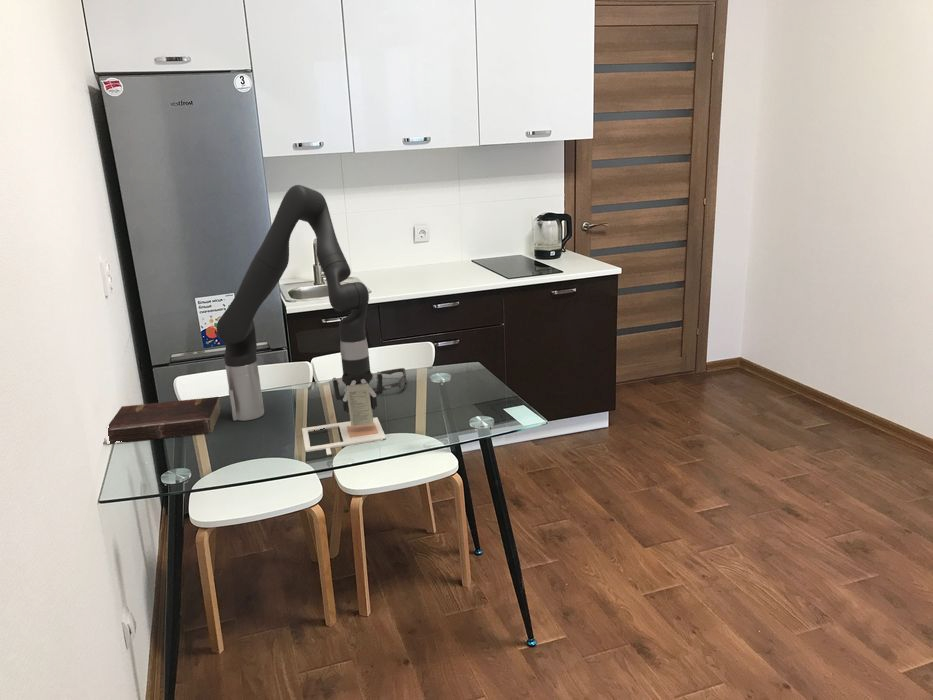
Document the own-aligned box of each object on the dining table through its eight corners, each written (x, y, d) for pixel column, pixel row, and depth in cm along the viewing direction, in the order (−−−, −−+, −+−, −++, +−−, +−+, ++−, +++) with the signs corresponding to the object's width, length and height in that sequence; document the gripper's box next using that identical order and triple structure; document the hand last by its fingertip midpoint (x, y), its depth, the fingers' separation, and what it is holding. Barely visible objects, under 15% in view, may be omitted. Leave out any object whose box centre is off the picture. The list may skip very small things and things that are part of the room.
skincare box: (373, 419, 214) (369, 378, 210) (372, 424, 209) (368, 384, 206) (350, 420, 213) (346, 380, 209) (349, 426, 209) (345, 385, 205)
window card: (306, 458, 197) (306, 455, 197) (302, 429, 215) (301, 427, 215) (388, 445, 202) (388, 442, 202) (377, 418, 221) (377, 416, 220)
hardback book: (106, 446, 213) (103, 430, 211) (124, 421, 230) (121, 406, 229) (211, 435, 217) (208, 419, 215) (221, 411, 234) (218, 396, 233)
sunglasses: (405, 395, 239) (402, 381, 237) (354, 403, 240) (350, 389, 238) (409, 378, 254) (407, 364, 253) (362, 385, 256) (359, 372, 254)
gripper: (330, 362, 200) (336, 419, 205) (382, 355, 203) (388, 411, 208) (327, 354, 207) (333, 409, 212) (378, 347, 210) (383, 402, 215)
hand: (360, 410), depth 210 cm, fingers closed on skincare box, 6 cm apart
